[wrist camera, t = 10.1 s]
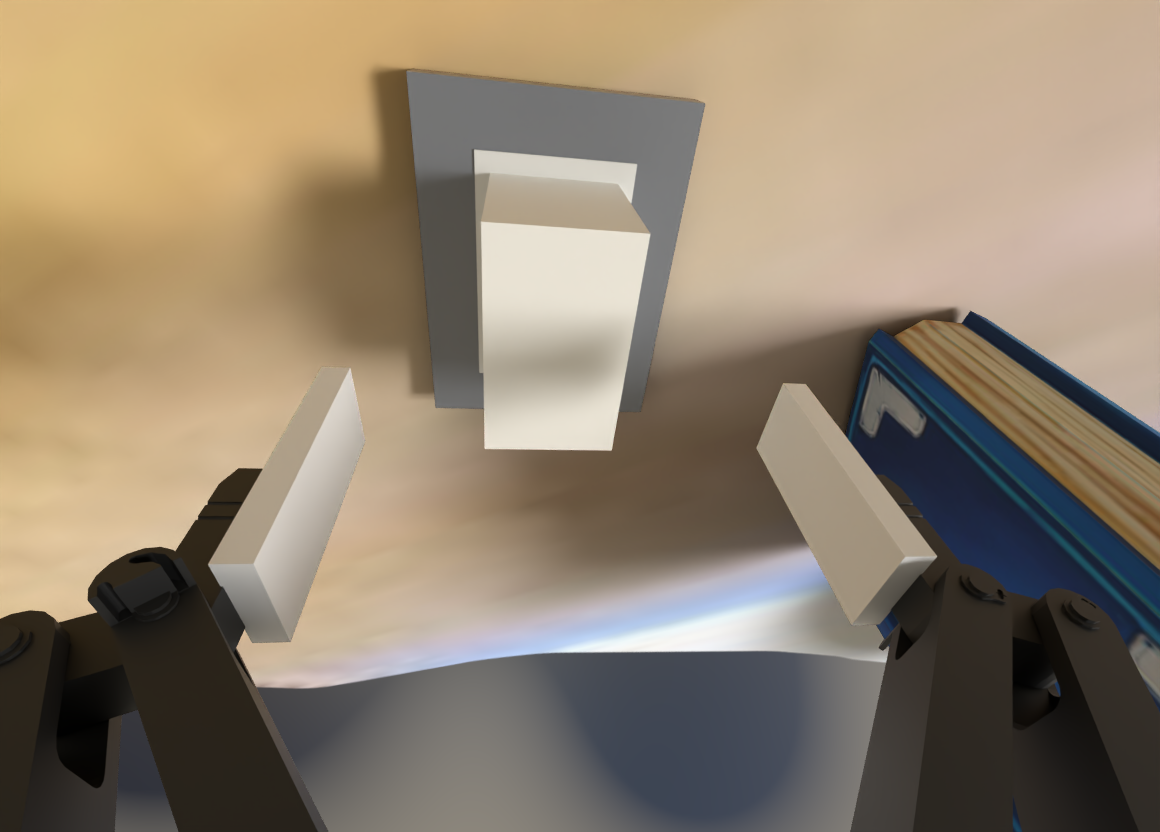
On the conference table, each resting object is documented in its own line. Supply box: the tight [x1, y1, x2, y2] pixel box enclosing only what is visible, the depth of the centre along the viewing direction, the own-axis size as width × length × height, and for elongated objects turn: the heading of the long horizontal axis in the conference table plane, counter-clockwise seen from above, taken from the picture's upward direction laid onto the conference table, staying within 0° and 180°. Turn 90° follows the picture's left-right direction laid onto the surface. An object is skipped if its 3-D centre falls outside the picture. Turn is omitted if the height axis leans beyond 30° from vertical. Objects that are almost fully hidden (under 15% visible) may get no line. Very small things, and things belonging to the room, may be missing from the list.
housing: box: [481, 173, 650, 450], centre depth 22 cm, size 10×6×7 cm, turn 174°
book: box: [846, 311, 1160, 832], centre depth 27 cm, size 22×7×25 cm, turn 10°
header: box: [406, 69, 705, 412], centre depth 24 cm, size 16×12×5 cm
